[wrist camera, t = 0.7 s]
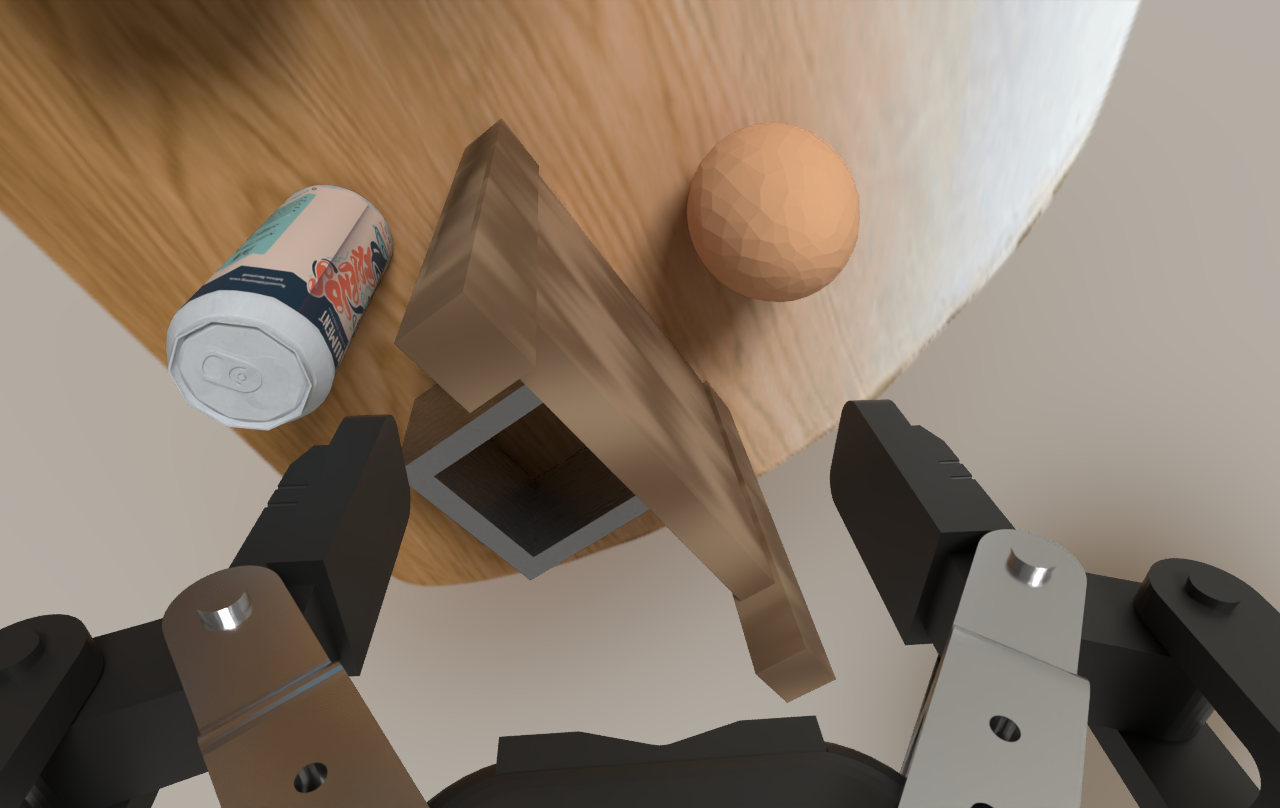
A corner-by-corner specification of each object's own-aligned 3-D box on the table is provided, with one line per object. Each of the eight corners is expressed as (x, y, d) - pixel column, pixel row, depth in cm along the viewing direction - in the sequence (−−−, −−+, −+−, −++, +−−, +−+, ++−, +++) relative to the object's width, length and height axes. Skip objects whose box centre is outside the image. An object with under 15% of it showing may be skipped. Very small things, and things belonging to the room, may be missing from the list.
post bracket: (415, 399, 36) (394, 474, 31) (557, 298, 33) (559, 360, 28) (531, 502, 40) (530, 580, 36) (662, 419, 38) (680, 490, 33)
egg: (751, 69, 29) (826, 115, 21) (843, 176, 32) (937, 250, 24) (642, 188, 31) (674, 267, 23) (738, 277, 34) (793, 374, 26)
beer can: (375, 301, 32) (301, 460, 22) (268, 257, 31) (137, 409, 21) (410, 213, 30) (346, 346, 20) (297, 160, 28) (168, 278, 19)
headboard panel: (465, 148, 29) (394, 343, 15) (501, 118, 28) (462, 291, 14) (699, 427, 39) (787, 702, 25) (729, 409, 38) (835, 679, 24)
